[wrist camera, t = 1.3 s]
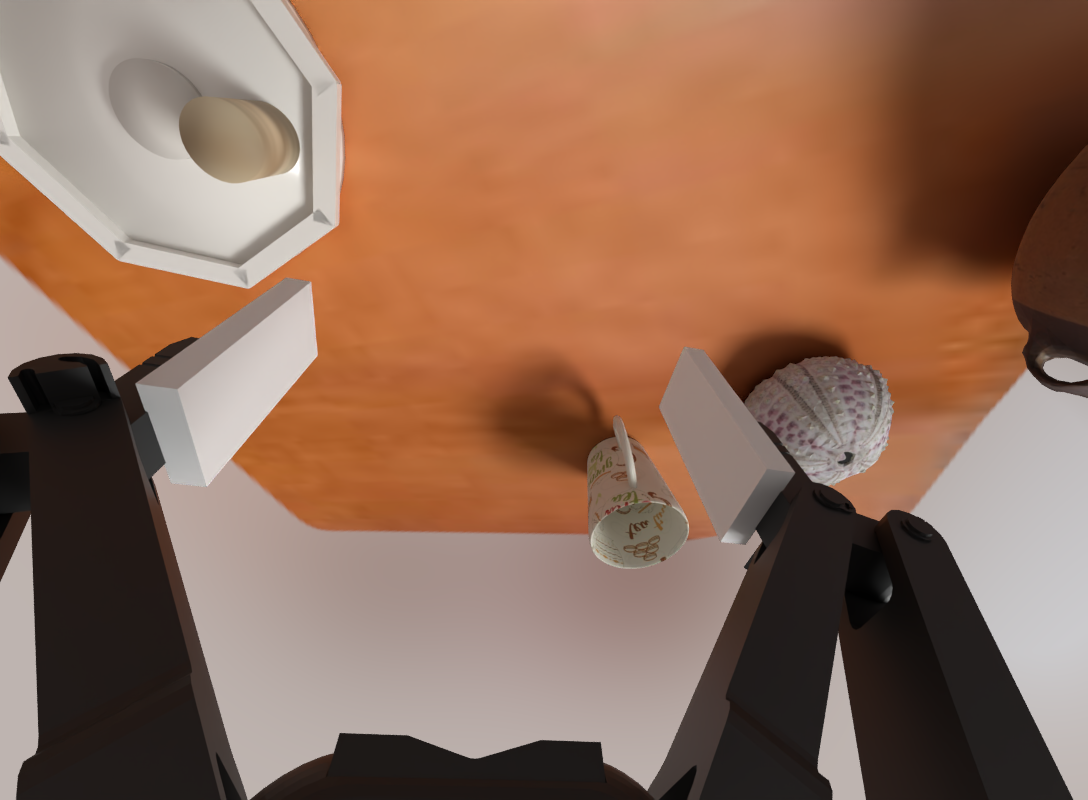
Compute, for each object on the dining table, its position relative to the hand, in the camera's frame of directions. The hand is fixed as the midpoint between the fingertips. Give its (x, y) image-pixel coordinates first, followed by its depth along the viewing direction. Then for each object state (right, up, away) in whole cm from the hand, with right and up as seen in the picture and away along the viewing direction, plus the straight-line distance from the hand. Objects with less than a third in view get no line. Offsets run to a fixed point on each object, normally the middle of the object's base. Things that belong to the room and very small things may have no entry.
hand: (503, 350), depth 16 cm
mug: (+8, -6, +28) cm, 30 cm away
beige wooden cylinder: (-16, +15, +12) cm, 25 cm away
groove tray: (-21, +16, +12) cm, 29 cm away
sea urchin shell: (+26, -2, +27) cm, 37 cm away
